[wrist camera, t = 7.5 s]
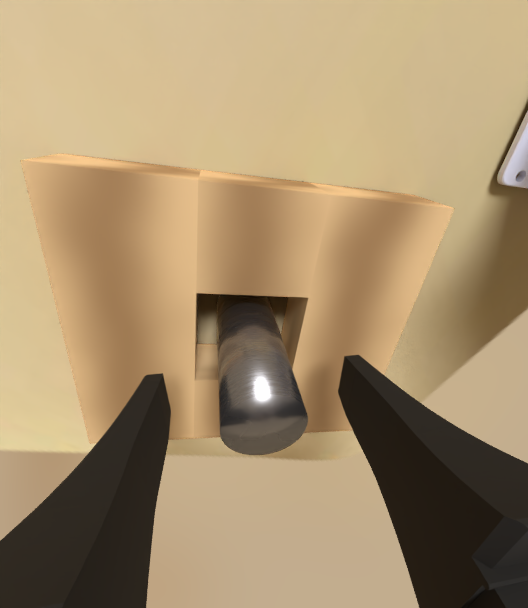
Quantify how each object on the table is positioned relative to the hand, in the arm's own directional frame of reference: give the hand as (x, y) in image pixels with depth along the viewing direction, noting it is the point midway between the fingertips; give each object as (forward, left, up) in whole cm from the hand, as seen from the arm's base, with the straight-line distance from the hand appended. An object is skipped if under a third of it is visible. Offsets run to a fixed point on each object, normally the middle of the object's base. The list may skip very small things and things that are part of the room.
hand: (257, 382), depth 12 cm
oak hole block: (0, 0, -6) cm, 6 cm away
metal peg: (0, 0, -6) cm, 6 cm away
